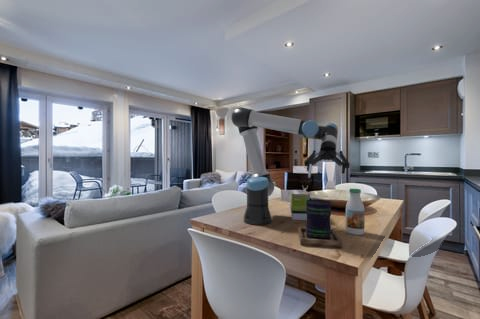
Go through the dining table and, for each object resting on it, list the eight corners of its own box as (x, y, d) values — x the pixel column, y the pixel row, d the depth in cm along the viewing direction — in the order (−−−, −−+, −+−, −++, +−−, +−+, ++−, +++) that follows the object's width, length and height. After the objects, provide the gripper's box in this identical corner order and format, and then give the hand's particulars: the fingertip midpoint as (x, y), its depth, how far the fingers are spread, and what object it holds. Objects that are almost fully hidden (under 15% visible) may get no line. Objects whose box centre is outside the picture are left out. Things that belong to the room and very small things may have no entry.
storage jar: (300, 236, 95) (300, 201, 95) (315, 231, 101) (315, 198, 101) (321, 243, 87) (321, 205, 87) (335, 238, 93) (336, 202, 93)
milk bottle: (341, 231, 105) (342, 188, 105) (353, 229, 108) (353, 187, 108) (356, 236, 98) (356, 190, 98) (368, 234, 101) (368, 189, 101)
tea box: (289, 213, 139) (289, 189, 139) (306, 214, 138) (306, 189, 138) (291, 220, 124) (292, 193, 124) (310, 220, 123) (310, 193, 123)
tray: (300, 245, 88) (300, 238, 88) (298, 232, 103) (298, 227, 103) (341, 248, 85) (341, 241, 85) (333, 235, 100) (333, 229, 100)
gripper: (355, 151, 113) (354, 184, 100) (304, 150, 124) (297, 180, 111) (355, 140, 108) (355, 173, 95) (303, 140, 119) (295, 169, 106)
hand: (324, 177), depth 103 cm, fingers open, 13 cm apart
